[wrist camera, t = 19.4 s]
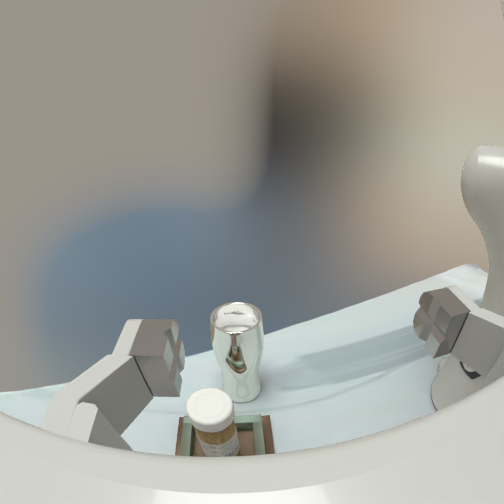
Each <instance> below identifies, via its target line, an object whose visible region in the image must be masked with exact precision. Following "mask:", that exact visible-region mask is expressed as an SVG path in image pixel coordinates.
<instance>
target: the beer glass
mask: <svg viewBox="0 0 504 504" xmlns="http://www.w3.org/2000/svg"><path fill="white" fill-rule="evenodd" d="M210 321H211V338H212V345H213V350H214V354H215V357H216V360H217V362H218V364H219V367H220V369H221V371H222V374H223V378H224V381H223V391H224V392H225V393H227V394H228V395H229V396H230V398H231V399H232V401H234V402H238V403H245V402H249V401H252V400H253V399H255V398H256V397H257V396H258V395H259V393H260V391H261V384H260V381H259V378H258V371H259V367H260V363H261V359H262V354H263V346H264V335H263V325H262V314H261V312H260V310H259V309H258V308H256V307H255V306H253V305H251V304H248V303H244V302H232V303H227V304H224V305H221V306H219V307H218V308H216V309H215V310H214V311H213V312H212V314H211V317H210Z"/></svg>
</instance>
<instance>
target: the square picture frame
mask: <svg viewBox="0 0 504 504" xmlns="http://www.w3.org/2000/svg"><path fill="white" fill-rule="evenodd" d="M234 422H235V426H236V429H237V435H238V441H239V450H240V452H241V456H252V455H265V454H275V453H274V446H273V438H272V431H271V423H270V415H266V416H261V414H260V415H244V416H234ZM175 455H176V456H196V457H206V455H205V453H204V451H203V449H202V446H201V444H200V442H199V439H198V437H197V435H196V431H195V428H194V426H193V425H192V424H191V422H190V421H189V418H188V416H184V417H180V418H179V426H178V434H177V443H176V453H175Z"/></svg>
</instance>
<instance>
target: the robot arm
mask: <svg viewBox="0 0 504 504" xmlns="http://www.w3.org/2000/svg"><path fill="white" fill-rule="evenodd" d="M501 5H502V10H503V16H504V0H501ZM461 190H462V196H463V200H464V203H465V206H466V208H467V210H468V212H469V214H470V216H471V217H472V218H473V220H474V221H475V222H476V224H477V226H478V227H479V229H480V231H481V233H482V235H483V238H484V240H485V243H486V247H487V252H488V259H489V273H488V280H487V284H486V288H485V292H484V295H483V298H482V301H481V304H480V307H478V306H477V305H476V304H475V303H474V302H473V301H472V300H471V299H470V298H469V297H468V296H467V295H466V294H465V293H464V292H463V291H462V290H461V289H460V288H458V287H457V286H449V287H445V288H443V289H438V290H433V291H428V292H424V293H423V294H422V295H421V297H420V300H419V304H420V308H419V309H418V310H417V312H416V313H415V316H414V320H413V323H414V330H415V333H416V334H417V336H418V337H419V338H420V339H422V340H424V341H425V347H426V349H427V350H428V352H429V353H430V355H431V356H432V357H433V358H436V357H439V356H443V355H446V354H449V353H450V354H449V356H448V357H447V358H444V359H442V360H441V361H440V363H439V365H438V374H437V376H436V378H435V379H434V381H433V384H432V389H431V395H432V400H433V403H434V405H435V407H436V409H437V411H436V412H433V413H431V414H429V415H426V416H424V417H421V418H419V419H416V420H414V421H411V422H408V423H405V424H403V425H400V426H397V427H394V428H391V429H388V430H385V431H382V432H378V433H375V434H372V435H368V436H365V437H361V438H357V439H353V440H349V441H345V442H341V443H336V444H332V445H327V446H322V447H316V448H311V449H305V450H298V451H291V452H284V453H275V454H265V455H252V456H232V457H196V456H176V455H163V454H153V453H145V452H137V451H133V450H132V448H131V447H130V446H129V445H128V444H127V442H126V441H125V440H124V439H123V438H122V437H121V436H120V435H121V434H122V433H123V432H124V431H125V430H126V429H127V427H128V426H129V425H130V424H131V423H132V422H133V421H134V419H135V418H136V417H137V416H138V415H139V414H140V413H141V411H142V410H143V409H144V408H145V407H146V406H147V405H148V403H149V402H150V401H151V400H152V399H153V396H157V397H180V390H181V384H182V378H181V375H180V372H181V371H182V370H183V369H184V363H185V353H184V347H183V343H182V340H181V339H180V338H178V337H177V336H178V331H179V328H178V325H177V322H176V320H174V319H144V320H142V319H130V320H128V321H127V322H126V324H125V326H124V328H123V330H122V332H121V335H120V337H119V339H118V342H117V344H116V346H115V349H114V351H113V353H112V355H107V356H105V357H104V358H103V359H101V360H100V361H99V362H97V363H96V364H94V365H93V366H92V367H91V368H89V369H88V370H86V371H85V372H84V373H82V374H81V375H80V376H78V377H77V378H76V379H74V380H73V381H71V382H70V383H69V384H67V385H66V386H65V387H63V388H62V389H61V390H59V391H58V392H57V393H55V394H54V395H53V397H52V400H51V402H50V404H49V406H48V408H47V411H46V413H45V415H44V418H43V420H42V423H41V425H40V428H38V427H36V426H33V425H30V424H28V423H25V422H23V421H20V420H18V419H15V418H13V417H11V416H8V415H6V414H4V413H2V412H0V504H504V146H495V145H479V146H477V147H476V148H475V149H474V150H473V151H472V152H471V153H470V155H469V156H468V158H467V159H466V161H465V164H464V167H463V170H462V176H461Z"/></svg>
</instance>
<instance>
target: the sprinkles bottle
mask: <svg viewBox="0 0 504 504" xmlns="http://www.w3.org/2000/svg"><path fill="white" fill-rule="evenodd" d="M186 412H187V415H188V418H189V421H190V422H191V424H192V425H193V426H194V428H195V431H196V435H197V437H198V439H199V442H200V444H201V446H202V449H203V451H204V453H205V455H206V457H232V456H241V452H240V450H239V441H238V435H237V429H236V426H235V422H234V416H235V411H234V406H233V402H232V399H231V398H230V396H229V395H228V394H227V393H225V392H224V391H222V390H220V389H216V388H205V389H201V390H198V391H196V392H195V393H193V394H192V395H191V396H190V397H189V399H188V400H187V403H186Z"/></svg>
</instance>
